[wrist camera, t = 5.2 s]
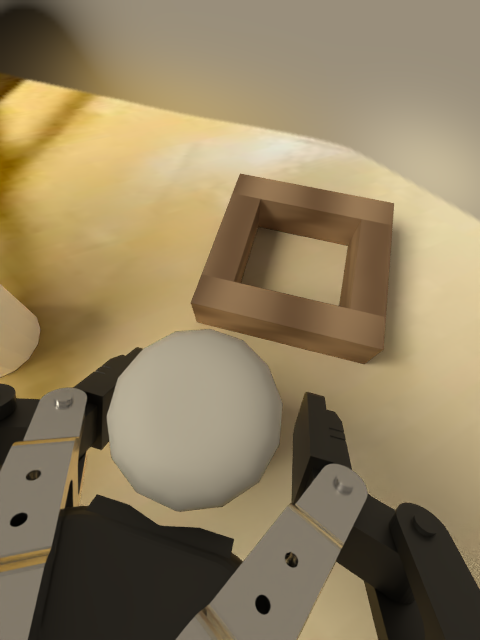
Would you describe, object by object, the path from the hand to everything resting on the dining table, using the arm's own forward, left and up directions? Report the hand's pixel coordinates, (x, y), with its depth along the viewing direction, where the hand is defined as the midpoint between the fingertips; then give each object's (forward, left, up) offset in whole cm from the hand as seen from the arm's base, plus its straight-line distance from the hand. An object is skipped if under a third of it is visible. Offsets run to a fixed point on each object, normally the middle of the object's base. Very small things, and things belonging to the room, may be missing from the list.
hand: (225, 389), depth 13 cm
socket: (+2, +11, -7) cm, 13 cm away
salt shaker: (0, -2, -7) cm, 7 cm away
